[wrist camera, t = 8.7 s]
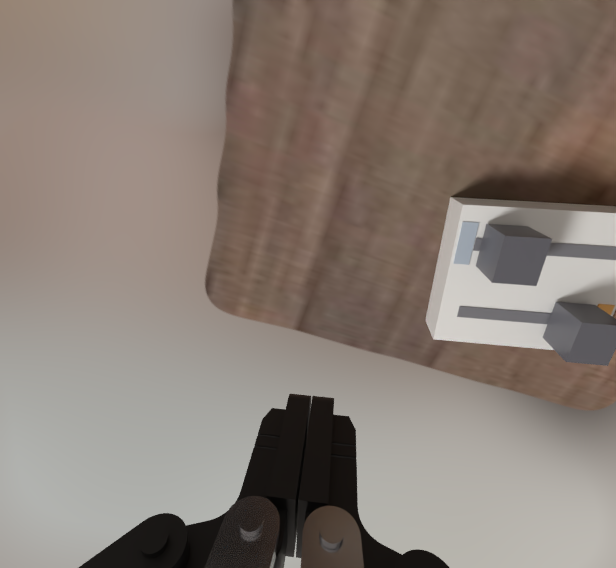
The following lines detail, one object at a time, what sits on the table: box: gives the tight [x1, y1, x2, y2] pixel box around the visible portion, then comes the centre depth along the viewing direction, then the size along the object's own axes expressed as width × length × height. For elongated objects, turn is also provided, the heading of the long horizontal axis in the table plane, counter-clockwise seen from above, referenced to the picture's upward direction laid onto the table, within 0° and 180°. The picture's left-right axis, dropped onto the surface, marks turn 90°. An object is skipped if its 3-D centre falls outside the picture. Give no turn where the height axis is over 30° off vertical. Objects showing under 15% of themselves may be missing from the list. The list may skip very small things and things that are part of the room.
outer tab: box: [543, 302, 616, 366], centre depth 31 cm, size 4×4×4 cm
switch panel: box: [426, 197, 616, 350], centre depth 34 cm, size 16×14×4 cm
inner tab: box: [476, 224, 552, 286], centre depth 29 cm, size 4×4×4 cm
